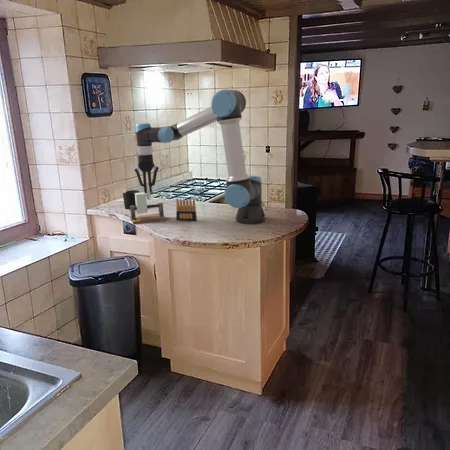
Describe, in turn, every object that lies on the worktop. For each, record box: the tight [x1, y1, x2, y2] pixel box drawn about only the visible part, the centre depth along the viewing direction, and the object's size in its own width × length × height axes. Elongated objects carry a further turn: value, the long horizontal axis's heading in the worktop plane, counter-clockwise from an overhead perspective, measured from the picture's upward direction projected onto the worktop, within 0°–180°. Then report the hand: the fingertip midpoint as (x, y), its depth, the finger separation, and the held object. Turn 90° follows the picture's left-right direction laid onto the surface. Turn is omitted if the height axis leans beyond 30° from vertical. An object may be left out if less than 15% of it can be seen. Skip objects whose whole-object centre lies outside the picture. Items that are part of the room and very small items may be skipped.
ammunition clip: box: [175, 197, 198, 222], centre depth 225 cm, size 11×2×12 cm, turn 77°
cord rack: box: [129, 202, 167, 225], centre depth 229 cm, size 12×17×8 cm
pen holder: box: [122, 189, 140, 211], centre depth 256 cm, size 9×9×10 cm
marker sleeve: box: [135, 191, 148, 214], centre depth 227 cm, size 5×5×10 cm
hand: (148, 198), depth 228 cm, fingers closed
